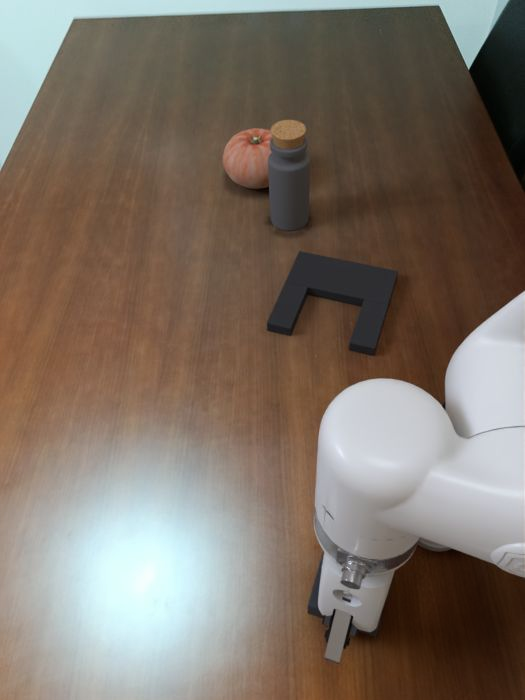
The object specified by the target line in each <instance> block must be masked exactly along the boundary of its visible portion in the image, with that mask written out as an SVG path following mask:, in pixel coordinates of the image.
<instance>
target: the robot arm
mask: <svg viewBox="0 0 525 700" xmlns="http://www.w3.org/2000/svg"><path fill="white" fill-rule="evenodd" d="M444 396H445V397H444V398H445V399H444V402H445V403H446V411H445V410H444V408H443V407H442V404H441V403H440V402H439V401H438V400H437V399H436V398H434V396H432V395H431V393H429V392H427V391H425V390H424V389H423V388H421V387H419V386H416V385H415V384H412V383H410V382H407V381H404V380H400V379H395V378H385V377H384V378H381V377H379V378H371V379H366V380H362V381H358V382H357V383H354V384H352V385H350V386H348V387H346V388H345V389H344V390H342V391H341V392H339V393H338V394H337V395H336V396H335V397H334V398H333V400H332V401H331V402H330V403H329V404H328V406H327V408H326V409H325V411H324V413H323V416H322V417H321V420H320V424H319V430H318V431H319V432H318V437H317V454H316V455H317V456H316V470H315V471H316V473H315V489H314V506H313V529H314V533H315V536H316V539H317V541H318V544H319V545H320V547H321V549H322V551H324V556H323V563H322V571H321V578H320V586H319V596H318V607H319V610H320V612H321V614H322V615H323V618H322V622H321V624H322V625H323V626H324V627H327V629H325V632H324V636H323V637H324V638H325V643H327V644H326V647H325V653H324V656H323V659H324V660H327V661H328V662H332V663H333V664H337V665H340V661H341V657H342V655H343V650H346V649H347V647H349V646H350V643H351V637H355V638H356V637H358V635H359V630H362V631H366V632H372V631H374V630H375V629H376V628H377V625H378V621H379V618H380V615H381V612H382V613H383V611H382V609H383V610H384V607H383V606H385V603H386V600H387V597H388V594H389V590H390V588H391V585H392V581H393V577H394V574H395V571H396V570H398V569H400V568H401V567H402V566H404V565H405V564H406V563H407V562H408V561H409V560H410V559H411V557H412V556H413V554H414V553H415V551H416V549H417V547H418V542H419V540H420V538H424V539H426V540H429V541H432V542H435V543H438V544H441V545H444V546H447V547H450V548H452V549H451V550H455V551H458V552H460V553H463V554H465V555H469V556H471V557H474V558H476V559H479V560H482V561H485V562H487V563H490V564H492V565H495V566H496V567H498V568H499V569H501V570H502V571H505V573H508V574H512V575H514V576H517V577H521V578H524V579H525V290H523V291H522V292H521V293H520V294H518V295H516V296H515V297H514V298H513V299H512V300H510V301H509V302H508V303H507V304H505V305H504V306H503V307H501V308H500V309H498V310H497V311H496V312H495V313H493V314H492V315H491V316H490V317H488V318H487V319H486V320H485V321H483V322H482V323H481V324H480V325H478V326H477V327H476V328H475V329H474V330H473V331H472V332H471V333H470V334H468V335H467V337H466V338H465V339H464V340H463V341H462V343H460V345H459V346H458V347H457V348H456V349H455V351H454V353H453V354H452V356H451V358H450V359H449V363H448V365H447V367H446V371H445V378H444ZM350 636H351V637H350Z"/></svg>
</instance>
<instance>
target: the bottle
mask: <svg viewBox="0 0 525 700" xmlns="http://www.w3.org/2000/svg"><path fill="white" fill-rule="evenodd" d="M270 130H271V134H272V138H271V140H270V150H271V151H272V153H271V154H270V155H269V158H268V175H269V187H268V191H269V192H268V193H269V194H268V195H269V213H270V222H271V224H272V225H273V226H274V227H275V228H277V229H279V230H282V231H284V232H285V231H287V232H288V231H289V232H290V231H291V232H292V231H298V230H300V229H302V228H304V227H305V226H306V225H307V224H308V222H309V218H310V181H311V179H310V177H311V157H310V155H309V153H308V152H307V150H308V145H309V144H308V143H309V142H308V138H307V136H306V133H307V127H306V125H305V124H304V123H303V122H301V121H299V120H296V119H283V120H279V121H277V122H275V123H274V124H273V125H272V126H271V127H270Z"/></svg>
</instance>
